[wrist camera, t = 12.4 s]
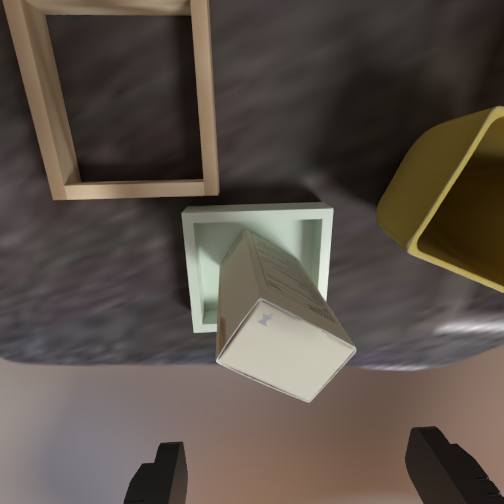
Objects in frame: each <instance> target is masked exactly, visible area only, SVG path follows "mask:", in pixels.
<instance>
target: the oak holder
mask: <svg viewBox="0 0 504 504" xmlns="http://www.w3.org/2000/svg"><path fill="white" fill-rule="evenodd" d="M3 4H4V8H5V12H6V16H7V20H8V24H9V28H10V32H11V36H12V40H13V44H14V47H15V51H16V55H17V59H18V63H19V67H20V71H21V75H22V79H23V83H24V87H25V91H26V95H27V99H28V103H29V106H30V110H31V114H32V118H33V122H34V126H35V130H36V134H37V138H38V142H39V146H40V150H41V154H42V158H43V161H44V165H45V169H46V173H47V177H48V181H49V185H50V189H51V193H52V197H53V200H74V199H108V198H143V197H177V196H211V195H218V194H219V191H220V189H219V171H218V154H217V136H216V119H215V101H214V83H213V66H212V48H211V31H210V13H209V0H3ZM45 15H191V17H192V30H193V44H194V57H195V70H196V84H197V97H198V111H199V124H200V137H201V151H202V164H203V177H204V179H183V180H144V181H106V182H81V178H80V173H79V169H78V164H77V159H76V155H75V150H74V145H73V141H72V136H71V132H70V127H69V122H68V118H67V113H66V108H65V104H64V99H63V95H62V90H61V85H60V81H59V76H58V72H57V67H56V62H55V58H54V53H53V48H52V44H51V39H50V35H49V30H48V25H47V21H46V16H45Z"/></svg>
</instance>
